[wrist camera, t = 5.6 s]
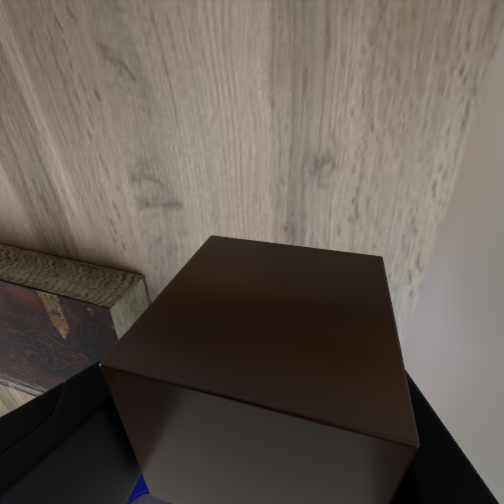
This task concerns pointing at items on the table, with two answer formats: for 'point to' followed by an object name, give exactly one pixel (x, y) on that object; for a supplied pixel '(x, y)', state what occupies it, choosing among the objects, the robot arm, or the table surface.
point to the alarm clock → (143, 494)
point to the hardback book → (60, 316)
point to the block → (267, 380)
